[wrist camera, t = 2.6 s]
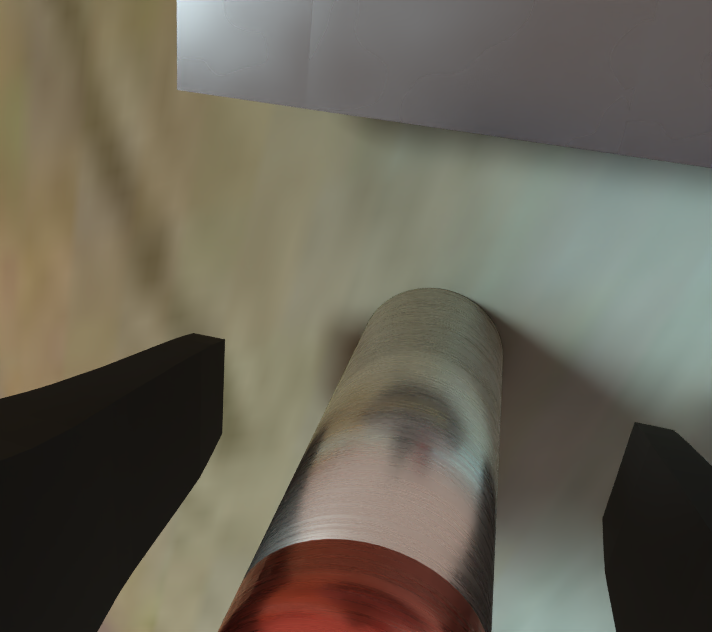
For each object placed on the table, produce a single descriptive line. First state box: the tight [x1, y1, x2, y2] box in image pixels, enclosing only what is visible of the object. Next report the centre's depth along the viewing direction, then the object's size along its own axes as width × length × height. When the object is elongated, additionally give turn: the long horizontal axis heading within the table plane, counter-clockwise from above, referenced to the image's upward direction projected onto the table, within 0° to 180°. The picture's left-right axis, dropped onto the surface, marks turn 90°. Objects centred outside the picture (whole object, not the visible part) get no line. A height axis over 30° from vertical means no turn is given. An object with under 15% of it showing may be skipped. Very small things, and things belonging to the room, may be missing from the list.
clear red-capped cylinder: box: [218, 288, 503, 632], centre depth 11 cm, size 3×3×9 cm
